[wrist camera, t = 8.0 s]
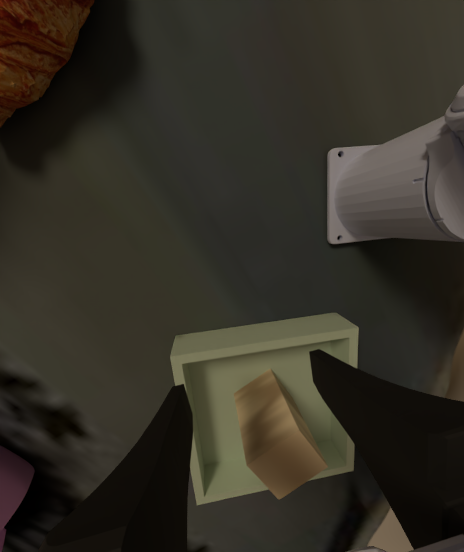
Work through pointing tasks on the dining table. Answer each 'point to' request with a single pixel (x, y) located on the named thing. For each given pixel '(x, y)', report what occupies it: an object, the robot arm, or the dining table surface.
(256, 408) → the oak block
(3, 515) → the teakettle
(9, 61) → the croissant
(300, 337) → the sage bin
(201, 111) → the dining table surface
